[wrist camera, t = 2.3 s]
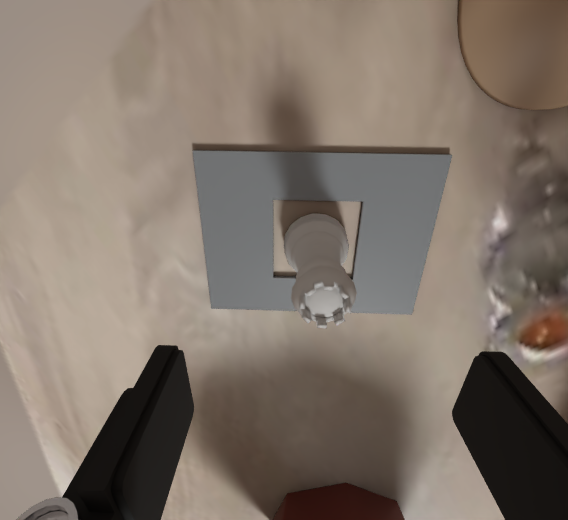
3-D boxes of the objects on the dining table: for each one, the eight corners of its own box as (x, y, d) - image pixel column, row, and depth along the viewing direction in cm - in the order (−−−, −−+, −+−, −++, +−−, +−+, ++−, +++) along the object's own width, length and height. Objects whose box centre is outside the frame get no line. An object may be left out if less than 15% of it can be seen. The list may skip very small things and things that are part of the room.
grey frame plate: (449, 154, 18) (452, 155, 18) (410, 312, 24) (412, 314, 23) (194, 150, 19) (192, 150, 18) (212, 306, 24) (211, 308, 24)
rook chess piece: (272, 229, 21) (260, 290, 14) (330, 199, 20) (349, 248, 13) (302, 278, 23) (305, 355, 15) (356, 252, 21) (387, 322, 14)
